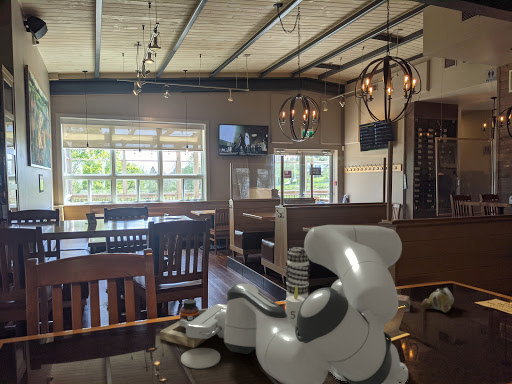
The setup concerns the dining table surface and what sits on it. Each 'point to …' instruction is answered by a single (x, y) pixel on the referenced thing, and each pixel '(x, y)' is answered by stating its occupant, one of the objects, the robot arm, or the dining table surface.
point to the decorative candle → (297, 272)
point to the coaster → (200, 358)
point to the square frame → (179, 336)
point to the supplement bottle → (188, 312)
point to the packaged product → (404, 302)
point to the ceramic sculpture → (439, 300)
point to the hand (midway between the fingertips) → (188, 316)
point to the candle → (293, 306)
